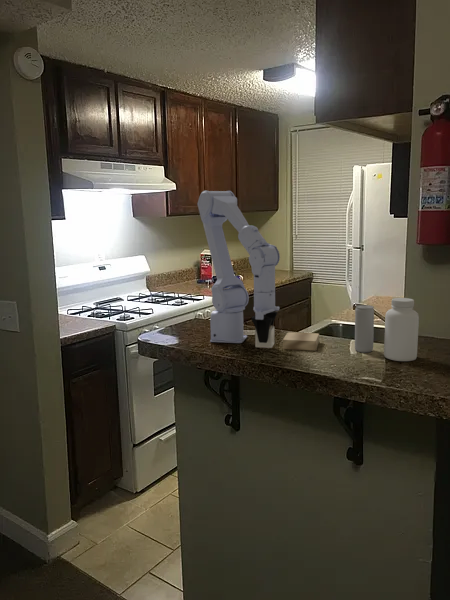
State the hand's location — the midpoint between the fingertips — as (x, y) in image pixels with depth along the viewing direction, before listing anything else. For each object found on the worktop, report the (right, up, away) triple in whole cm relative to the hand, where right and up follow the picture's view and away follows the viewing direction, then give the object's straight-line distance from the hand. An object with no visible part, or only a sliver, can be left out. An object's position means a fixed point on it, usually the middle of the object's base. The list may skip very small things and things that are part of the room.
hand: (264, 340), depth 139 cm
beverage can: (+26, -3, -3) cm, 27 cm away
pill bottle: (+34, -4, -10) cm, 35 cm away
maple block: (+11, -2, +4) cm, 12 cm away
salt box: (0, -2, 0) cm, 2 cm away
